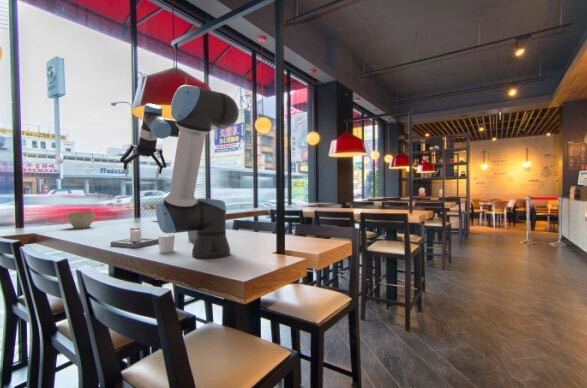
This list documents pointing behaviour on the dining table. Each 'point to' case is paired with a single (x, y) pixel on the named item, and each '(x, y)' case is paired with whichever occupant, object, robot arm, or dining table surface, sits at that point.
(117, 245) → the dark grey tray
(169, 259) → the dining table surface
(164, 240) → the white tapered cup
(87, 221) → the planter bowl
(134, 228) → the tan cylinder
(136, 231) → the cylinder
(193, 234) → the coffee cup
